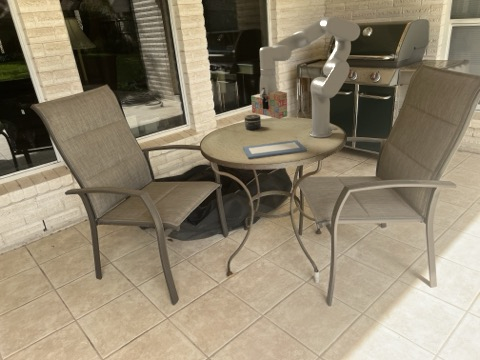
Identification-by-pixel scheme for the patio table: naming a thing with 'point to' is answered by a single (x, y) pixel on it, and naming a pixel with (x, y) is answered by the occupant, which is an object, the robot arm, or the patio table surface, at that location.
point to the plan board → (273, 149)
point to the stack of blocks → (271, 104)
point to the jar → (252, 122)
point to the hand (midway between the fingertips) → (269, 107)
